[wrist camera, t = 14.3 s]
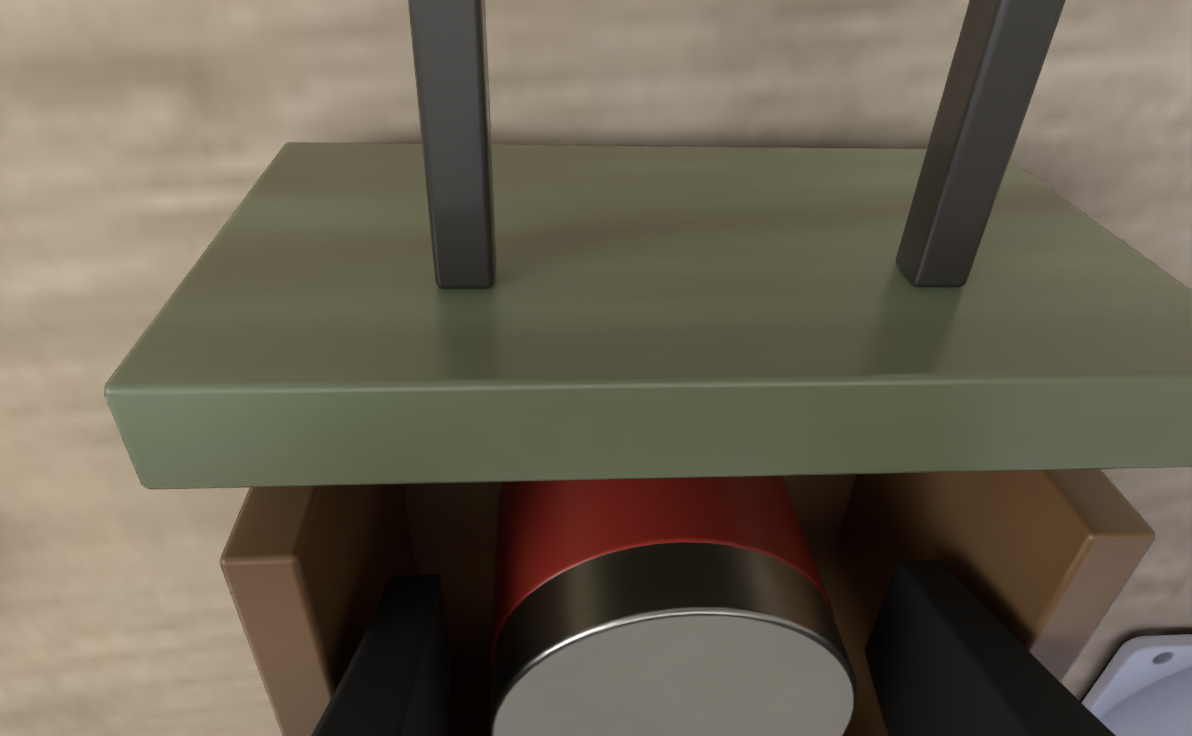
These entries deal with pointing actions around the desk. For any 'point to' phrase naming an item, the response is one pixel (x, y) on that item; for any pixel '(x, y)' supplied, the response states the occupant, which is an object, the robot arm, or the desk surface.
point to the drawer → (663, 362)
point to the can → (662, 612)
